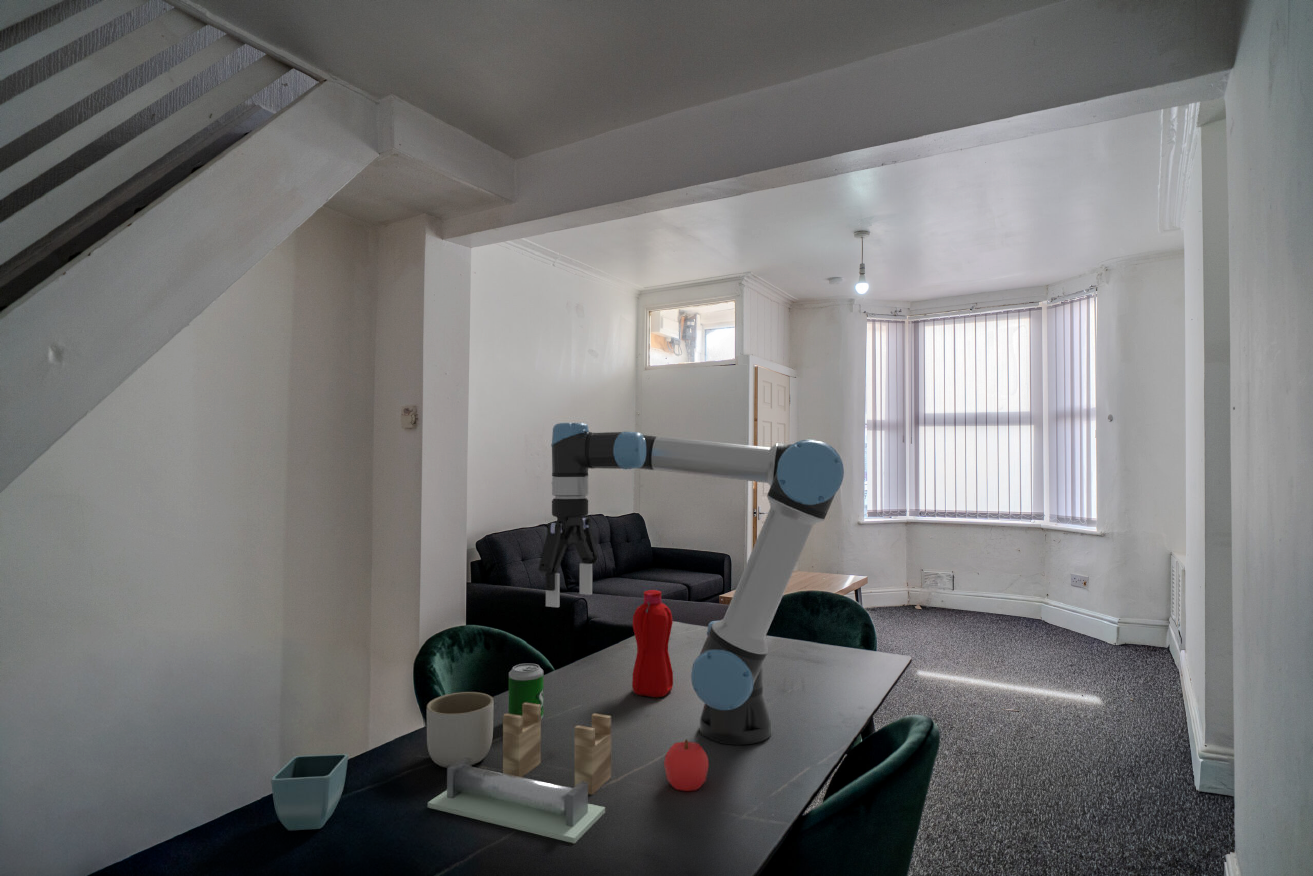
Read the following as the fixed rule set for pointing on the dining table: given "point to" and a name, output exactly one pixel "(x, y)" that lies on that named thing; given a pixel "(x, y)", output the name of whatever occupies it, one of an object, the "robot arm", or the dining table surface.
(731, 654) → the robot arm
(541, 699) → the soda can
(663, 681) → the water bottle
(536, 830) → the board
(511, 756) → the post far
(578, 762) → the post near
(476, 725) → the planter
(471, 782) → the rail
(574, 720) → the dining table surface
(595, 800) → the dining table surface
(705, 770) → the apple
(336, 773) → the flower pot
